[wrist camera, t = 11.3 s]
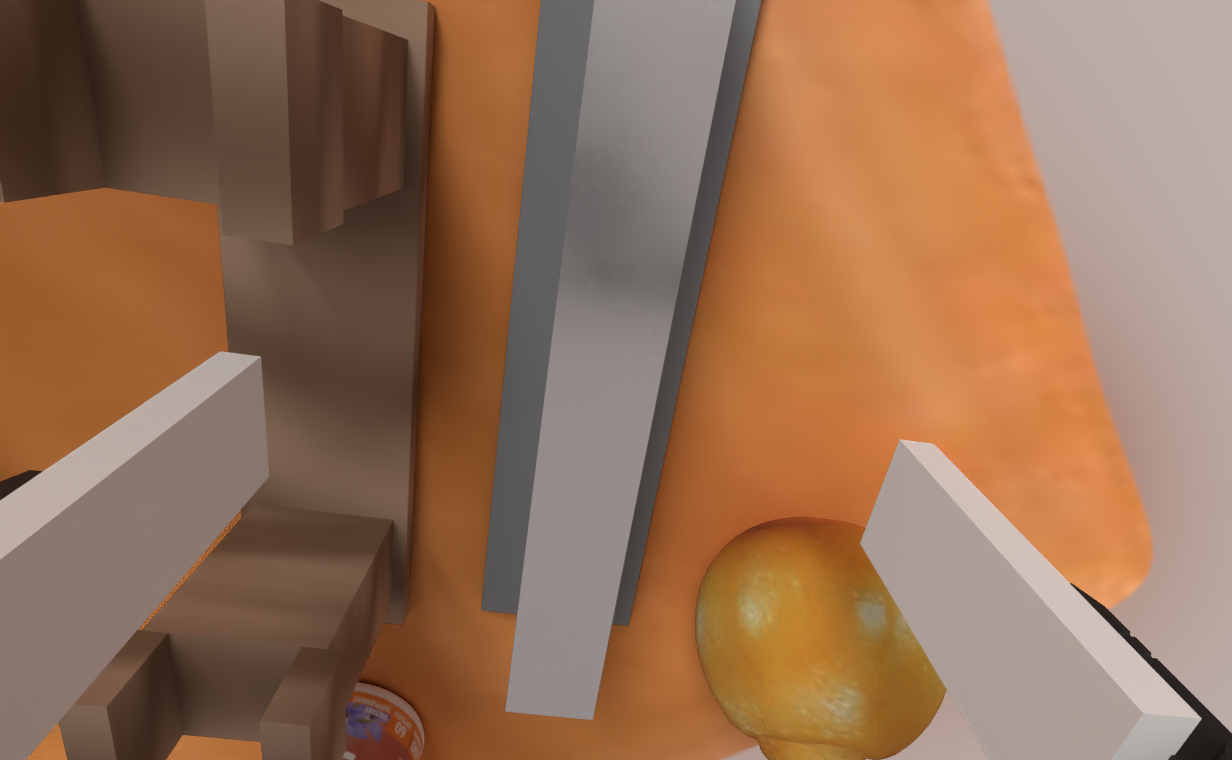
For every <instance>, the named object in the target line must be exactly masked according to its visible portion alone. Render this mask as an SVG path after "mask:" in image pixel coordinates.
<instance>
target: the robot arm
mask: <svg viewBox="0 0 1232 760" xmlns="http://www.w3.org/2000/svg"><path fill="white" fill-rule="evenodd" d="M268 477H269V466H268V451H267V436H266V422H265V407H264V392H263V378H262V363H261V357H260V356H253V355H245V354H237V353H229V352H222V351H220V352H218V353H217V354H215V355H214V356H212V357H211V358H209V359H208V360H206V361H205V362H204V363H202V364H201V365H199V366H198V367H196V368H195V369H193V370H192V371H190V372H189V373H187V374H186V375H184V376H183V377H181V378H180V379H178V380H177V381H176V382H174V383H173V384H171V385H170V386H168V387H167V388H165V389H164V390H162V391H161V392H159V393H158V394H156V395H155V396H153V397H152V398H150V399H149V400H148V401H146V402H145V403H143V404H142V405H140V406H139V407H137V408H136V409H134V410H133V411H131V412H130V413H128V414H127V415H125V416H124V417H122V418H121V419H120V420H118V421H117V422H115V423H114V424H112V425H111V426H109V427H108V428H106V429H105V430H103V431H102V432H100V433H99V434H97V435H96V436H94V437H93V438H92V439H90V440H89V441H87V442H86V443H84V444H83V445H81V446H80V447H78V448H77V449H75V450H74V451H72V452H71V453H69V454H68V455H66V456H65V457H64V458H62V459H61V460H59V461H58V462H56V463H55V464H53V465H52V466H50V467H49V468H47V469H46V470H44V471H43V472H42V471H33V470H29V471H26V472H24V473H21V474H19V475H16V476H14V477H11V478H9V479H6V480H3V481H1V482H0V760H26V759H27V758H28V757H29V756H30V755H31V753H32V752H33V751H34V750H35V749H36V748H37V746H38V745H39V744H40V743H41V742H42V741H43V739H44V738H45V737H46V736H47V735H48V734H49V732H50V731H51V730H52V729H53V728H54V727H55V725H56V724H57V723H58V722H59V721H60V720H61V718H62V717H63V716H64V715H65V714H66V713H67V711H68V710H69V709H70V708H71V707H72V706H73V704H74V703H75V702H76V701H77V700H78V699H79V697H80V696H81V695H82V694H83V693H84V692H85V690H86V689H87V688H88V687H89V686H90V685H91V683H92V682H93V681H94V680H95V679H96V678H97V676H98V675H99V674H100V673H101V672H102V671H103V669H104V668H105V667H106V666H107V665H108V664H109V662H110V661H111V660H112V659H113V658H114V657H115V655H116V654H117V653H118V652H119V651H120V650H121V648H122V647H123V646H124V645H125V644H126V643H127V642H128V640H129V639H130V638H131V637H132V636H133V635H134V633H135V632H136V631H137V630H138V629H139V628H140V626H141V625H142V624H143V623H144V622H145V621H146V619H147V618H148V617H149V616H150V615H151V614H152V612H153V611H154V610H155V609H156V608H157V607H158V605H159V604H160V603H161V602H162V601H163V600H164V598H165V597H166V596H167V595H168V594H169V593H170V591H171V590H172V589H173V588H174V587H175V586H176V584H177V583H178V582H179V581H180V580H181V579H182V577H183V576H184V575H185V574H186V573H187V572H188V570H189V569H190V568H191V567H192V566H193V565H194V563H195V562H196V561H197V560H198V559H199V558H200V556H201V555H202V554H203V553H204V552H205V551H206V549H207V548H208V547H209V546H210V545H211V544H212V542H213V541H214V540H215V539H216V538H217V537H218V535H219V534H220V533H221V532H222V531H223V530H224V528H225V527H226V526H227V525H228V524H229V523H230V521H231V520H232V519H233V518H234V517H235V516H236V515H237V513H238V512H239V511H240V510H241V509H242V508H243V506H244V505H245V504H246V503H247V502H248V501H249V499H250V498H251V497H252V496H253V495H254V494H255V492H256V491H257V490H258V489H259V488H260V487H261V485H262V484H263V483H264V482H265V481H266V480H267V478H268ZM860 544H861V546H862V548H863V549H864V551H865V553H866V554H867V556H868V558H869V559H870V561H871V563H872V564H873V566H874V568H875V570H876V571H877V573H878V575H879V576H880V578H881V580H882V581H883V583H884V585H885V586H886V588H887V590H888V591H889V593H890V595H891V596H892V598H893V600H894V602H895V603H896V605H897V607H898V608H899V610H900V612H901V613H902V615H903V617H904V618H905V620H906V622H907V623H908V625H909V627H910V629H911V630H912V632H913V634H914V635H915V637H916V639H917V640H918V642H919V644H920V645H921V647H922V649H923V650H924V652H925V654H926V655H927V657H928V659H929V661H930V662H931V664H932V666H933V667H934V669H935V671H936V672H937V674H938V676H939V677H940V679H941V681H942V682H943V684H944V686H945V688H946V689H947V691H948V693H949V694H950V696H951V698H952V699H953V701H954V703H955V704H956V706H957V707H958V709H959V711H960V713H961V714H962V716H963V718H964V720H965V721H966V723H967V725H968V726H969V728H970V729H971V731H972V733H973V735H974V736H975V738H976V740H977V741H978V743H979V745H980V746H981V748H982V750H983V752H984V753H985V755H986V757H987V758H988V760H1232V733H1231V732H1230V731H1229V730H1228V729H1227V728H1226V727H1225V726H1224V725H1223V724H1222V723H1221V722H1220V721H1219V720H1218V719H1217V718H1216V717H1215V716H1214V715H1213V714H1212V713H1211V712H1210V711H1209V710H1208V709H1206V707H1205V706H1204V705H1203V704H1202V703H1201V702H1200V701H1199V700H1198V699H1197V698H1196V697H1195V696H1194V695H1193V694H1191V692H1190V691H1189V690H1188V689H1187V688H1186V687H1185V686H1184V685H1183V684H1181V682H1180V681H1179V680H1178V679H1177V678H1176V677H1175V676H1174V675H1173V674H1172V673H1171V672H1170V671H1169V670H1168V669H1167V668H1166V667H1165V666H1164V665H1163V664H1162V663H1161V662H1160V661H1158V659H1156V658H1152V657H1151V652H1150V651H1149V650H1148V649H1147V648H1146V647H1145V646H1144V645H1143V644H1142V643H1141V642H1140V641H1139V640H1138V639H1137V638H1135V637H1131V636H1130V631H1129V630H1128V629H1127V628H1126V627H1125V626H1124V625H1123V624H1122V623H1121V622H1120V621H1119V620H1118V619H1117V618H1116V617H1115V616H1114V615H1113V614H1112V613H1111V612H1110V611H1109V610H1108V609H1107V608H1106V607H1105V606H1103V605H1102V604H1100V603H1099V602H1098V601H1096V600H1095V599H1093V598H1092V597H1090V596H1089V595H1088V594H1086V593H1085V592H1083V591H1082V590H1080V589H1079V588H1078V587H1076V586H1075V585H1073V584H1072V583H1069V582H1068V581H1067V580H1066V579H1065V578H1064V577H1063V576H1062V575H1061V574H1060V573H1059V572H1058V571H1057V570H1056V569H1055V568H1054V567H1053V566H1052V565H1051V564H1050V563H1049V562H1048V561H1047V560H1046V558H1045V557H1044V556H1043V555H1042V554H1041V553H1040V552H1039V551H1038V550H1037V549H1036V548H1035V547H1034V546H1033V545H1032V544H1031V543H1030V542H1029V541H1028V540H1027V539H1026V538H1025V537H1024V536H1023V535H1022V534H1021V533H1020V532H1019V531H1018V530H1017V529H1016V528H1015V527H1014V526H1013V525H1012V524H1011V523H1010V522H1009V521H1008V520H1007V519H1006V517H1005V516H1004V515H1003V514H1002V513H1001V512H1000V511H999V510H998V509H997V508H996V507H995V506H994V505H993V504H992V503H991V502H990V501H989V500H988V499H987V498H986V497H985V496H984V495H983V494H982V493H981V492H980V491H979V490H978V489H977V488H976V487H975V486H974V485H973V484H972V483H971V482H970V481H969V480H968V479H967V478H966V476H965V475H964V474H963V473H962V472H961V471H960V470H959V469H958V468H957V467H956V466H955V465H954V464H953V463H952V462H951V461H950V460H949V459H948V458H947V457H946V456H945V455H944V454H943V453H942V452H941V451H940V450H939V449H938V448H937V447H936V446H935V445H934V444H932V443H924V442H916V441H909V440H901V439H900V440H899V443H898V445H897V448H896V450H895V453H894V456H893V458H892V461H891V463H890V466H889V469H888V471H887V474H886V477H885V479H884V482H883V484H882V487H881V490H880V492H879V495H878V498H877V500H876V503H875V505H874V508H873V511H872V513H871V516H870V519H869V521H868V524H867V526H866V529H865V532H864V534H863V537H862V539H861V542H860Z"/></svg>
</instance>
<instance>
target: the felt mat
mask: <svg viewBox="0 0 1232 760" xmlns="http://www.w3.org/2000/svg"><path fill="white" fill-rule="evenodd" d="M760 4H761V0H736V2H735V7H734V12H733V17H732V22H731V27H730V32H729V37H728V42H727V47H726V53H725V58H724V63H723V68H722V73H721V78H720V83H719V88H718V93H717V98H716V103H715V108H714V113H713V118H712V123H711V128H710V133H709V138H708V143H707V148H706V153H705V158H704V163H703V168H702V173H701V178H700V183H699V188H698V193H697V198H696V203H695V208H694V213H693V218H692V223H691V228H690V234H689V239H688V244H687V249H686V254H685V259H684V264H683V269H682V274H681V279H680V284H679V289H678V294H677V299H676V304H675V309H674V314H673V319H672V324H671V329H670V334H669V339H668V344H667V349H666V354H665V359H664V364H663V369H662V374H661V379H660V384H659V389H658V394H657V399H656V404H655V409H654V415H653V420H652V425H651V430H650V435H649V440H648V445H647V450H646V455H645V460H644V465H643V470H642V475H641V480H640V485H639V490H638V495H637V500H636V505H635V510H634V515H633V520H632V525H631V530H630V535H629V540H628V545H627V550H626V555H625V560H624V565H623V570H622V575H621V580H620V585H619V590H618V595H617V601H616V606H615V611H614V616H613V621H612V624H614V625H623V626H629V621H630V616H631V611H632V607H633V602H634V597H635V593H636V588H637V583H638V579H639V574H640V569H641V564H642V560H643V555H644V550H645V546H646V541H647V536H648V531H649V527H650V522H651V517H652V513H653V508H654V503H655V499H656V494H657V489H658V484H659V480H660V475H661V470H662V466H663V461H664V456H665V451H666V447H667V442H668V437H669V433H670V428H671V423H672V419H673V414H674V409H675V404H676V400H677V395H678V390H679V386H680V381H681V376H682V371H683V367H684V362H685V357H686V353H687V348H688V343H689V339H690V334H691V329H692V324H693V320H694V315H695V310H696V306H697V301H698V296H699V291H700V287H701V282H702V277H703V273H704V268H705V263H706V259H707V254H708V249H709V244H710V240H711V235H712V230H713V226H714V221H715V216H716V211H717V207H718V202H719V197H720V193H721V188H722V183H723V179H724V174H725V169H726V164H727V160H728V155H729V150H730V146H731V141H732V136H733V131H734V127H735V122H736V117H737V113H738V108H739V103H740V99H741V94H742V89H743V84H744V80H745V75H746V70H747V66H748V61H749V56H750V52H751V47H752V42H753V37H754V33H755V28H756V23H757V19H758V14H759V9H760ZM593 7H594V0H541V5H540V15H539V26H538V36H537V46H536V56H535V66H534V77H533V87H532V97H531V107H530V117H529V127H528V138H527V148H526V158H525V168H524V178H523V188H522V199H521V209H520V219H519V229H518V239H517V250H516V260H515V270H514V280H513V290H512V300H511V311H510V321H509V331H508V341H507V351H506V362H505V372H504V382H503V392H502V402H501V412H500V423H499V433H498V443H497V453H496V463H495V473H494V484H493V494H492V504H491V514H490V524H489V535H488V545H487V555H486V565H485V575H484V585H483V596H482V606H481V610H484V611H493V612H503V613H512V614H517V613H518V605H519V597H520V589H521V581H522V573H523V565H524V557H525V549H526V541H527V533H528V525H529V517H530V509H531V501H532V493H533V485H534V477H535V469H536V461H537V454H538V446H539V438H540V430H541V422H542V414H543V406H544V398H545V390H546V382H547V374H548V366H549V358H550V350H551V342H552V334H553V326H554V318H555V310H556V302H557V294H558V286H559V278H560V270H561V262H562V254H563V246H564V238H565V230H566V222H567V215H568V207H569V199H570V191H571V183H572V175H573V167H574V159H575V151H576V143H577V135H578V127H579V119H580V111H581V103H582V95H583V87H584V79H585V71H586V63H587V55H588V47H589V39H590V31H591V23H592V15H593Z"/></svg>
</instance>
